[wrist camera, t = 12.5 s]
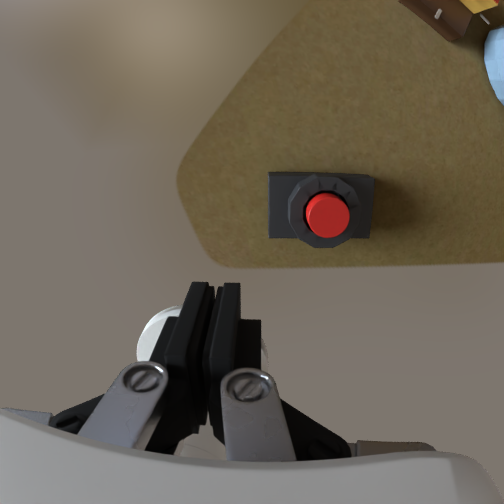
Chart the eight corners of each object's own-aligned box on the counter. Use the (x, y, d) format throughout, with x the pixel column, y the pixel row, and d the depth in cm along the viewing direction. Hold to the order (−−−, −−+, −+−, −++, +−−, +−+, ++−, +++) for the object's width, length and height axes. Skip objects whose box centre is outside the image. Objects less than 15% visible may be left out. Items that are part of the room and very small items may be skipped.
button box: (268, 233, 32) (269, 248, 28) (268, 169, 30) (269, 176, 26) (362, 233, 32) (374, 247, 28) (367, 172, 29) (382, 179, 26)
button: (304, 231, 28) (307, 238, 27) (306, 192, 27) (309, 196, 25) (343, 231, 28) (348, 238, 26) (346, 192, 27) (351, 197, 25)
